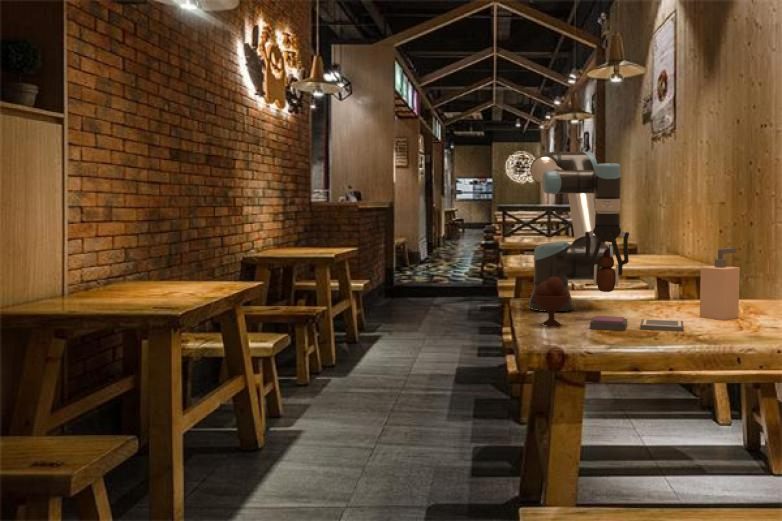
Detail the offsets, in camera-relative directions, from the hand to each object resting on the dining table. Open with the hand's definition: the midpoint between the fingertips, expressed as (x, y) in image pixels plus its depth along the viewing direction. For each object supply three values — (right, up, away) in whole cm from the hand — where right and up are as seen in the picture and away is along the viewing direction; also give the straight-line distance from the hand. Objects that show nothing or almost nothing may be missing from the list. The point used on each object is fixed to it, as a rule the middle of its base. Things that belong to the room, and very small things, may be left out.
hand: (606, 285), depth 243 cm
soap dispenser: (+39, -11, +4) cm, 40 cm away
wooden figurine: (0, -2, 0) cm, 2 cm away
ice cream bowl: (-19, -12, -8) cm, 24 cm away
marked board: (+13, -12, -14) cm, 22 cm away
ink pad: (-3, -12, -13) cm, 18 cm away
